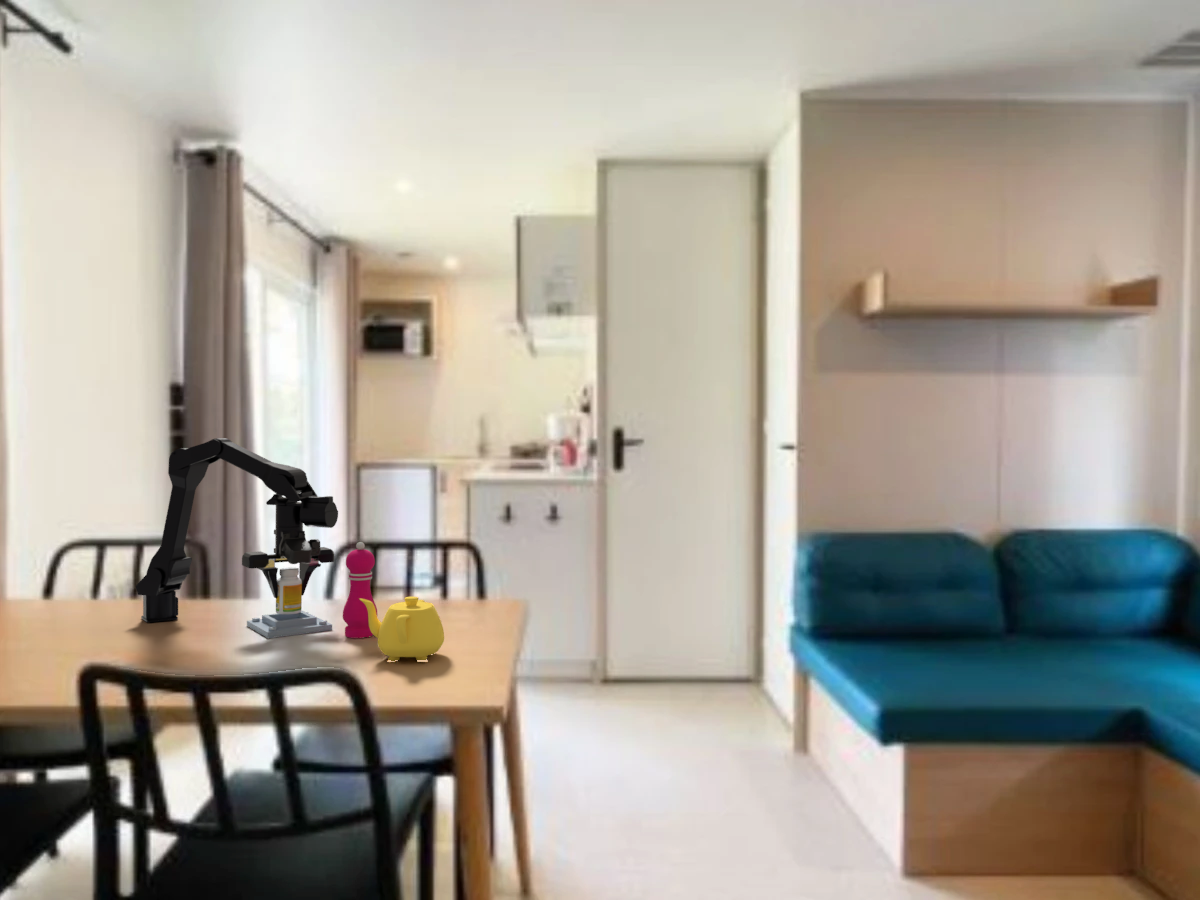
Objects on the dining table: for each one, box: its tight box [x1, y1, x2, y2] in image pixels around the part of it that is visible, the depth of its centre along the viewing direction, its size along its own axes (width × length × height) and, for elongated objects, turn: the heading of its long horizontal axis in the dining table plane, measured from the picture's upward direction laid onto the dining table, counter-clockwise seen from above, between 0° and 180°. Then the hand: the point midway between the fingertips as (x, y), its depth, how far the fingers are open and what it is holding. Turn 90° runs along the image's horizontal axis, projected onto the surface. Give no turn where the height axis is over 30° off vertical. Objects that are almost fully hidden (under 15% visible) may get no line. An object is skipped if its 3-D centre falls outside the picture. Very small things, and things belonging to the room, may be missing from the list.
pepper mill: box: [342, 541, 378, 639], centre depth 202 cm, size 7×7×20 cm
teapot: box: [360, 596, 445, 661], centre depth 184 cm, size 14×14×12 cm
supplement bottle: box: [275, 566, 303, 614], centre depth 208 cm, size 5×5×10 cm
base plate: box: [246, 610, 333, 639], centre depth 208 cm, size 14×14×3 cm
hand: (288, 596), depth 208 cm, fingers closed on supplement bottle, 5 cm apart
